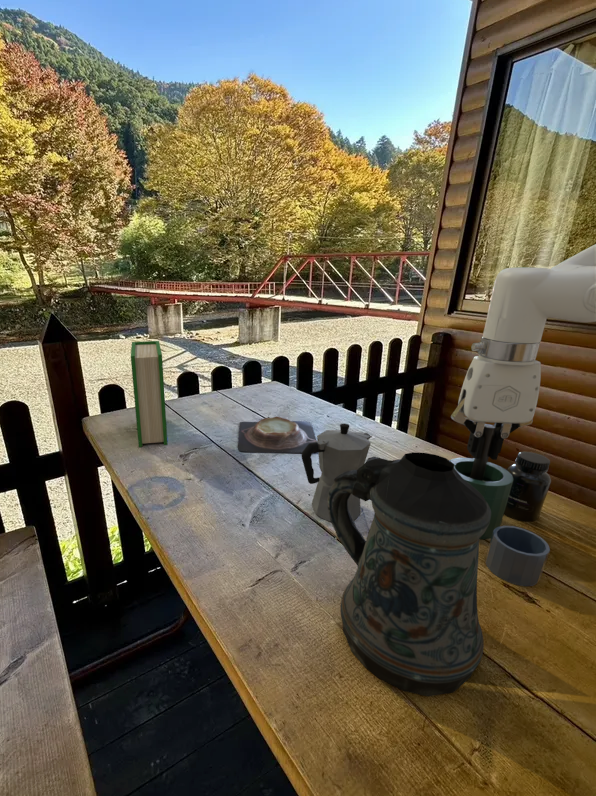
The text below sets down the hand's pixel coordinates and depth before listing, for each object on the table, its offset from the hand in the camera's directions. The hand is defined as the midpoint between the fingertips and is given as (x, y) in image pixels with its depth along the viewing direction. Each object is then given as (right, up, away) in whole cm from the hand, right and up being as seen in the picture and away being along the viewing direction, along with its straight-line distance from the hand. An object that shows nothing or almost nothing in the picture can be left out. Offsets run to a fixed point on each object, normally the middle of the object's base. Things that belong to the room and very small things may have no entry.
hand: (482, 455), depth 71 cm
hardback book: (-65, +2, +44) cm, 78 cm away
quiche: (-30, +1, +41) cm, 51 cm away
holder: (0, -17, -7) cm, 19 cm away
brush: (0, -10, +4) cm, 11 cm away
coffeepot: (-24, -12, +8) cm, 28 cm away
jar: (0, -13, +4) cm, 14 cm away
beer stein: (-23, -22, -17) cm, 36 cm away
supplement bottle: (+11, -12, +7) cm, 18 cm away
